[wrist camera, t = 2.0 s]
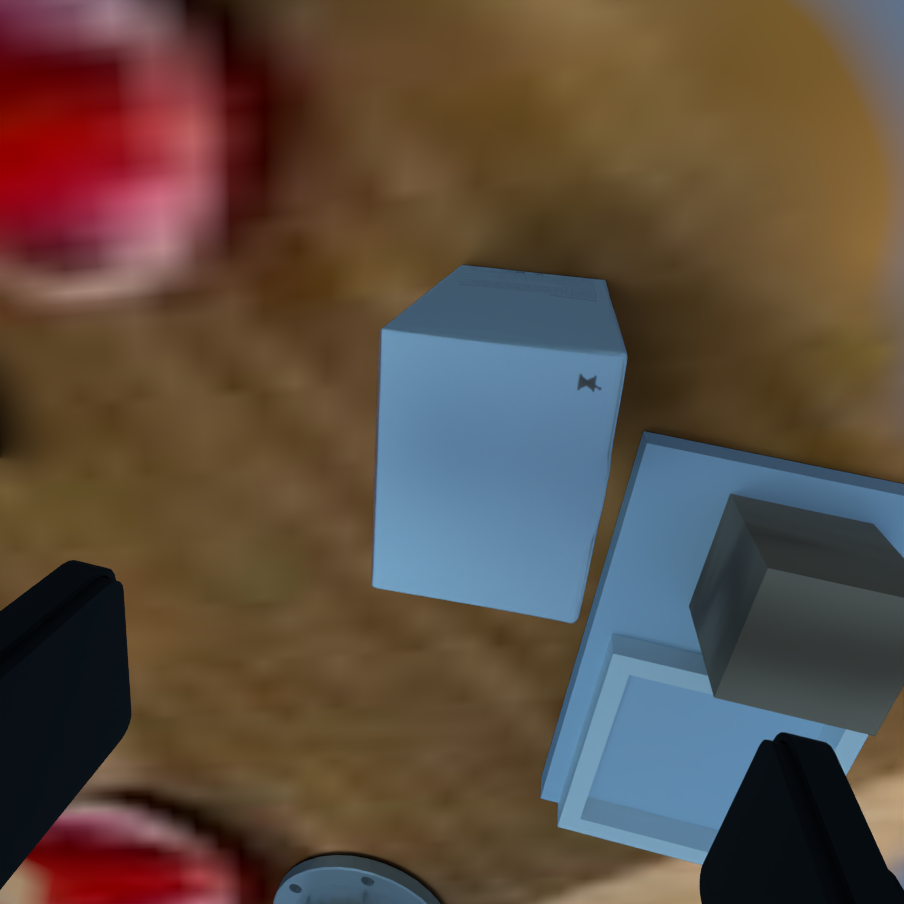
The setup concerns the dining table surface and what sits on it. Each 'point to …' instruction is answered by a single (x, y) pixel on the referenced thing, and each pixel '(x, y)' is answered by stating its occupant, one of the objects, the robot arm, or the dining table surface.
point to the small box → (496, 440)
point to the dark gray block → (802, 614)
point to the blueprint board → (679, 653)
